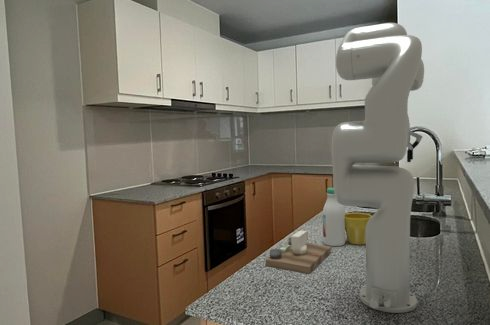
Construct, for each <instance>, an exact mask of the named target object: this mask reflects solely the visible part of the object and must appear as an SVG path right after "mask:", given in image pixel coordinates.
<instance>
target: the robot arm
mask: <svg viewBox="0 0 490 325" xmlns="http://www.w3.org/2000/svg"><path fill="white" fill-rule="evenodd" d="M422 54H423V46H422V41H421V39H420V38H419V37H417V36H414V35H409V34H408V33H407V30H406V28H405V27H404V26H403V25H401V24H399V23H396V22H384V23H383V22H382V23H377V24H372V25H365V26H359V27H355V28H352V29H350V30H349V31H347V33H346V34H345V35H344V37H343V38H342V41H341V43H340V44H339V46H338V48H337V52H336V57H335V67H336V72H337V74H338V76H339V77H340V78H341V79H342V80H345V81H359V80H370V79H371V84H372V86H371V87H370V89H369V90H368V92H367V94H366V95H365V97H364V120H353V121H344V122H340V123H339V124H337V125H336V126H335V127H334V130H333V132H332V134H331V135H332V137H331V160H332V162H331V163H332V178H333V180H332V181H333V188H334V194H335V198H336V200H337V202H338V203H340V204H341V205H343V206H347V207H358V208H359V207H361V208H362V207H363V208H372V209H377V210H376V211H375V213H373V214H372V217H371V218H370V219H369V220H368V222H367V225H366V244H365V286H363V287H362V288H361V289H360V290H359V292H358V294H359V295H358V298H359V300H360V301H361V302H362V303H363V304H364V305H365V306H367V307H369V308H371V309H373V310H377V311H380V312H384V313H391V314H403V313H408V312H411V311H414V310H415V309H416V308H417V306H418V298H417V296H416V295H415V294H414V293H412V292H411V290H410V288H411V286H410V284H411V281H410V280H411V279H410V278H411V277H410V275H411V272H410V270H411V268H410V265H411V262H410V261H411V259H410V258H411V257H410V255H411V246H410V245H411V244H410V243H411V239H410V238H411V213H412V205H413V201H414V200H413V199H414V192H415V178H414V175H413V174H412V173H411V172H410V171H409V170H408V169H406V168H403V167H400V166H391V165H390V166H388V165H382V166H380V165H373V166H372V165H371V166H368V165H367V166H365V165H364V166H362V165H360V166H354V165H355V164H378V163H379V164H384V163H385V164H387V163H396V162H401V161H402V160H403V159H404V158H405V156H406V158H407V159H406V162H407V163H411V162H412V161H413V159H414V149H415V148H417V146H418V145H419V144H420V142H421V141H422V139H423V135H422V134H418V133H416V132H415V131H412V130H411V126H410V118H409V113H408V104H409V98H410V92H414V91H417V90H419V89H420V88H421V87H422V86H423V83H424V80H425V65H424V61H423V60H422ZM411 137H414V138H416V139H415V141H414V142H413V143H412V142H411Z"/></svg>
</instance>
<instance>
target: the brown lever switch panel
mask: <svg viewBox="0 0 490 325" xmlns="http://www.w3.org/2000/svg"><path fill="white" fill-rule="evenodd" d="M287 239H288V243H287V244H284V245H283V246H281V247H280V248H273V249H271V250H269V256H268V257H267V258H265V266H266V267H270V268H274V269H275V268H276V269H282V270H286V271H291V272H298V273H304V274H311V272H313V271H314V270H315V269H316V268H317V267H318V266H319V265H320V264H321V263H322V262H324V260H325V259H327V257H328V256H329V255H331V253H332V246H329V245H320V244H314V243H307V244H306V246H307V253H306V254H301V255H299V254H294V253H293V249H292V247H291V237H288V238H287Z"/></svg>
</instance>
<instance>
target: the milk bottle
mask: <svg viewBox="0 0 490 325" xmlns="http://www.w3.org/2000/svg"><path fill="white" fill-rule="evenodd" d="M326 195H327V196H326V200H325V203H324V206H323V209H322V242H323V244H324V245H325V246H329V247H340V246H344V245H345V243H346V230H345V214H346V213H345V208H344V205H341V204H340V203H338V202H337V200H336V198H335V194H334V187H328V188H326Z"/></svg>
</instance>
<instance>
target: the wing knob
mask: <svg viewBox="0 0 490 325" xmlns="http://www.w3.org/2000/svg"><path fill="white" fill-rule="evenodd" d="M308 237H309V236H308V231H306V230H299V231H297V232H296V233H293V235H291V236H290V238H291V247H292V249H293V253H294V254H299V255H301V254H306V253H307V246H306V244H308V240H309V238H308Z"/></svg>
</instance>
